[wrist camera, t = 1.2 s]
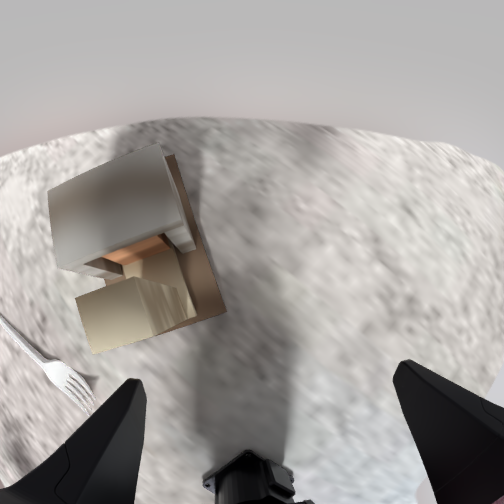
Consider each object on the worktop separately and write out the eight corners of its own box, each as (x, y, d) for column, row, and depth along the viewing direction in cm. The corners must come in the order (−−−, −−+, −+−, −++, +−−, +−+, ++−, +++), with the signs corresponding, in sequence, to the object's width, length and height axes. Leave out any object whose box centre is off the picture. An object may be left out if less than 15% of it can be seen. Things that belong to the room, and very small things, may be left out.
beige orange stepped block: (197, 315, 21) (170, 331, 10) (146, 332, 20) (80, 358, 9) (159, 200, 22) (116, 124, 11) (113, 218, 22) (44, 159, 11)
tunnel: (226, 311, 22) (228, 319, 13) (129, 343, 21) (77, 365, 12) (175, 159, 24) (156, 94, 15) (90, 192, 23) (40, 146, 14)
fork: (-14, 283, 21) (-24, 281, 19) (105, 389, 20) (97, 395, 19) (-20, 306, 20) (-30, 305, 18) (96, 414, 20) (88, 420, 18)
